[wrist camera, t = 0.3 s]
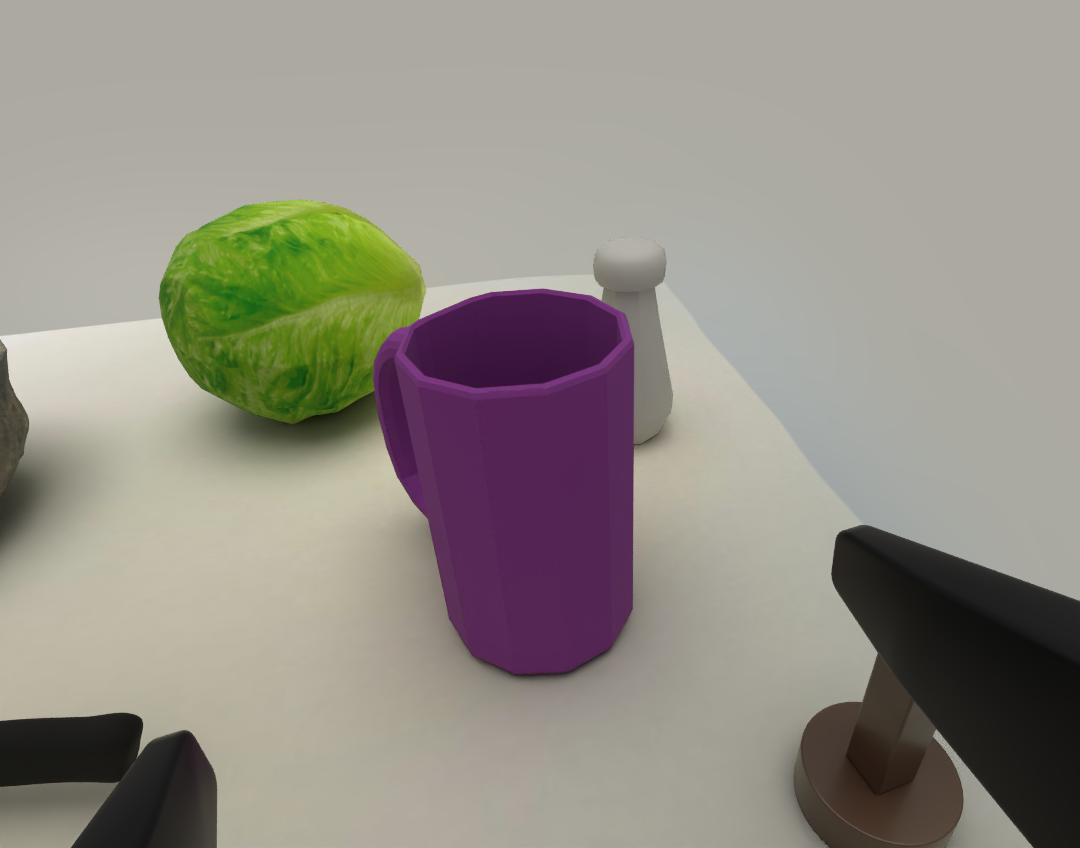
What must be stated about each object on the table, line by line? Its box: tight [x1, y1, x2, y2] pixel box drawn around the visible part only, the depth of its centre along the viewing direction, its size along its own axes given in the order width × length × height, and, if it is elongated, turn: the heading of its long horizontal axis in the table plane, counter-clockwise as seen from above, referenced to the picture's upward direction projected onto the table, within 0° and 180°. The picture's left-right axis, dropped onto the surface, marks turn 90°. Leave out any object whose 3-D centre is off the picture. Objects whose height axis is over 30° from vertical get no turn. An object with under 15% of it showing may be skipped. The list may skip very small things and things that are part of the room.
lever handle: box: [794, 653, 963, 848], centre depth 22 cm, size 5×5×11 cm
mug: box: [373, 289, 634, 674], centre depth 31 cm, size 9×16×15 cm, turn 46°
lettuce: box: [159, 200, 426, 424], centre depth 49 cm, size 17×20×15 cm
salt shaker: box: [593, 237, 673, 444], centre depth 43 cm, size 6×6×13 cm
